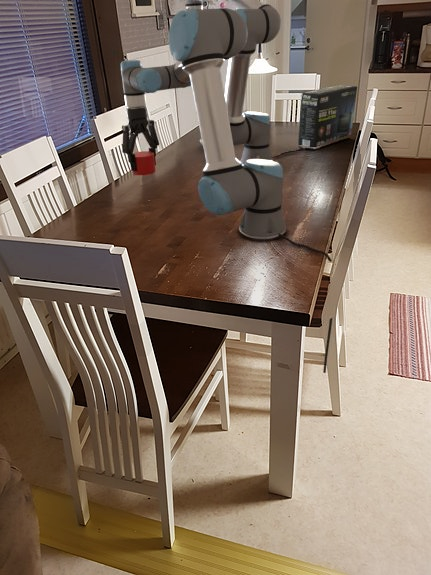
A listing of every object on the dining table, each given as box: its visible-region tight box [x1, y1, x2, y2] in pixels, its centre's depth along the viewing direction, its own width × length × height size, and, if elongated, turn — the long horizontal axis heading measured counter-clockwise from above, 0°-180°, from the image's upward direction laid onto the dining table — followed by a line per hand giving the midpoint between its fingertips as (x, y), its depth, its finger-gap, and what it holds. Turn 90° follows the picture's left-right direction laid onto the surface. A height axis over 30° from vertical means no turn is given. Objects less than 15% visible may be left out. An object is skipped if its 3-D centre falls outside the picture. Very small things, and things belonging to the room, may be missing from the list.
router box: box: [297, 84, 358, 151], centre depth 238 cm, size 36×11×27 cm, turn 134°
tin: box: [132, 150, 157, 176], centre depth 179 cm, size 9×9×7 cm
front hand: (143, 167), depth 180 cm, fingers closed on tin, 9 cm apart
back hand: (197, 69), depth 217 cm, fingers open, 13 cm apart
